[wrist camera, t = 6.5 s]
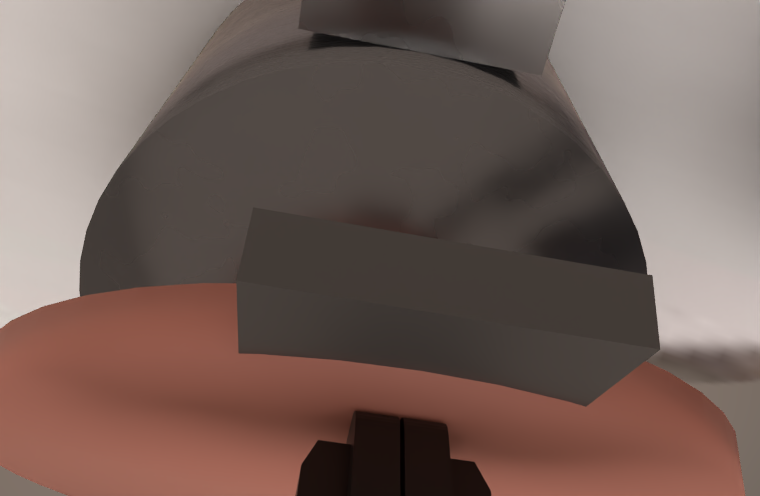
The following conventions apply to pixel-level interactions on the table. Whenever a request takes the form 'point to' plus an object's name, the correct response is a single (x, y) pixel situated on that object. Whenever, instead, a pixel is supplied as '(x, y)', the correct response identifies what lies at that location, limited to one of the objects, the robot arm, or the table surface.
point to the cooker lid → (358, 372)
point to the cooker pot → (362, 141)
